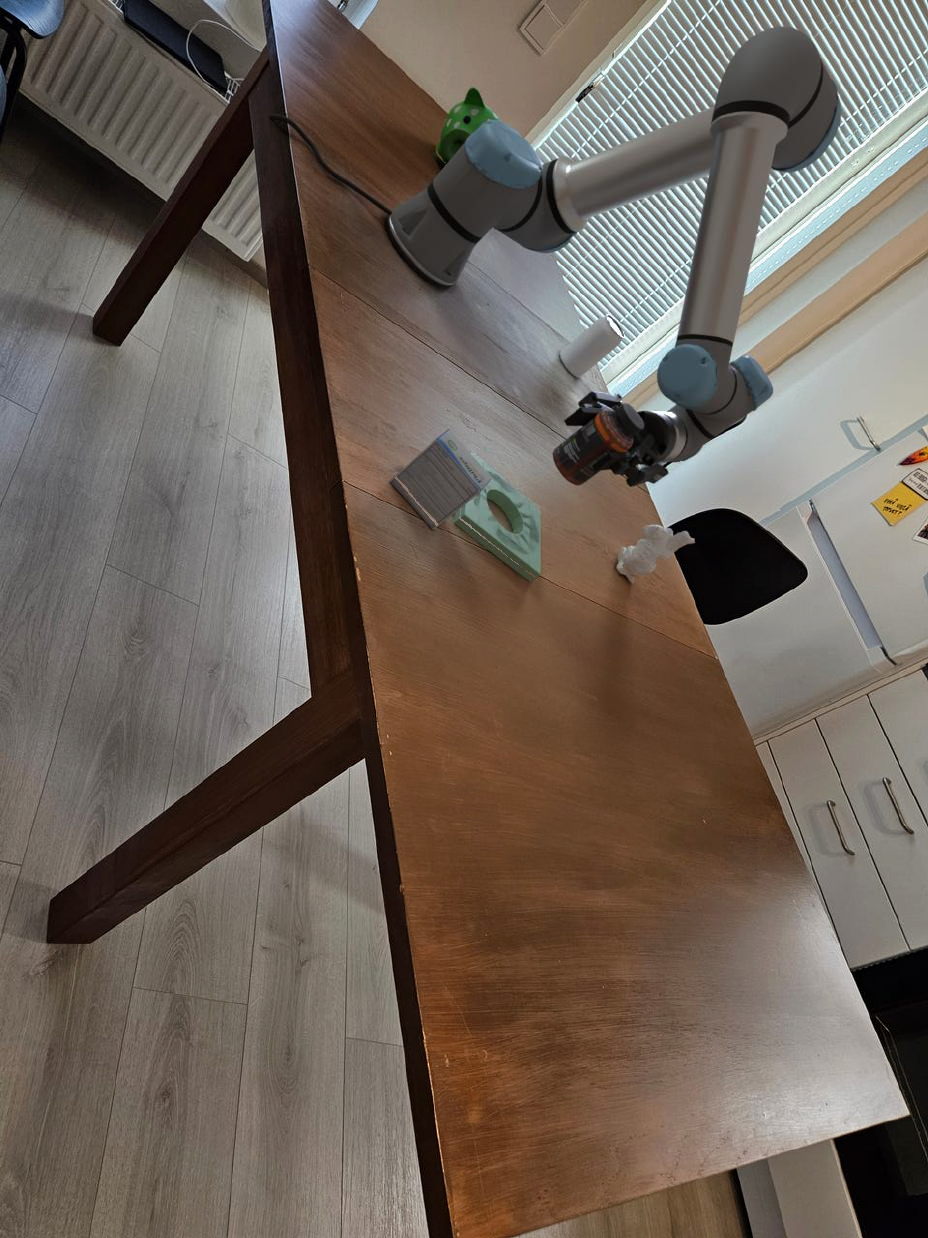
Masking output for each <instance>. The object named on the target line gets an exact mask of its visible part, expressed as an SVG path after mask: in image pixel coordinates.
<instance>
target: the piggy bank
mask: <svg viewBox="0 0 928 1238" xmlns="http://www.w3.org/2000/svg"><path fill="white" fill-rule="evenodd" d="M464 97H465V98H464V100H463V101H460V102H458V103H456V104H455V105H454V106H452V108H451V109H450V110H449V111H448V114H447V116H446V118H445V120H444V122H443V126H442V129H441V132H440V139H439V143H438V144H437V146H436V147H437V151H438V153H439V155H440V156H441V157H442V159H443V161H444V162H446V163H448V162H449V161H450V159H451V158H452V157H453V156H454V155H455V153H456V152H457V151H458V150H459V149H460V147H461V146H462V145H463V144H464V143H465V141H466V140H467V138H468V137H469V136H470V135H471V134H472V133H474V132H475V131H476V130H477V129H478V128H479V127H480V126H481V125H482V124H483V123H484V122H486V121H488V120H498V121H501V120H500V118H499V116H498V115H497V114H496V112H495V111H493V110H492V109H491V108H490V107H489V106H487V105H486V104H485V103H484V100H483V97H482V95H481V92H480V90H479V89H478V88H477V87H475V86H471V87H470V88H469V89H468V90H467V92H466V95H465V96H464ZM433 157H434V158H435V160H436V161H437V162H438V163H439V164H440V165H446V163H444V162H443V161H442V160H441V159H440V158H439V157H438V156H437V154H436V152H435V151H434V154H433Z"/></svg>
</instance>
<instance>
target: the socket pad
mask: <svg viewBox="0 0 928 1238" xmlns="http://www.w3.org/2000/svg"><path fill="white" fill-rule="evenodd" d="M469 451H470V453H471V454H472V455H473V456H474V457H475V459H476V460H477V461H478V462H479V463H480V465H481V466H482V467H483V468H484V469H485V471H486V472H487V473H488V474H489V475H490V477H491V481H490V482H489V483H488V484H487V485H486V487H485V488H484V489H483V490H482V491H481V492H480V493H479V494H478V495H476V496H475V497H474V498H473V499H471V500H470V501H469V502H468V503H466V504H465V505H464V506H463V507H462V508H461V515H460V509H459V510H458V511H456V512H455V513H454V519H453V522H454V525H456V526H457V527H458V528H459V529H461V530H462V531H464V533H466V534H467V535H468V536H470V537H471V538H473V539H474V540H475V541H476V542H477V543H479V544H480V545H482V546H483V547H484V548H485V549H487V550H488V551H489V552H491V553H492V554H493V555H494V556H496V557H497V558H498V559H499V560H501V561H502V562H503V563H505V564H506V565H507V566H509V567H510V568H511V569H513V571H515V572H516V573H517V574H519V575H520V576H522V577H523V578H524V579H526V580H527V581H528V582H530V583H531V582H532V581H534V580H535V579H536V578H534V577H533V576H532V575H530V574H529V573H528V572H526V571H525V570H524V569H523V568H525V569H526V570H527V571H529V572H530V573H531V574H533V575H534V576H535V577H537V578H539V577H540V576H541V575H542V555H541V554H542V545H541V544H542V543H541V542H542V541H541V539H542V538H541V537H542V535H541V534H542V533H541V532H542V531H541V529H542V527H541V525H542V524H541V508H540V507H538V506H537V505H536V504H535V503H534V502H532V501H531V500H530V498H528V497H527V496H525V494H523V493H522V492H521V491H519V489H517V488H516V487H515V486H514V485H513V484H511V483H510V482H509V481H508V480H506V479H505V478H504V477H503V476H502V475H501V474H500V473H498V472H497V471H496V470H495V469H493V467H491V466H490V465H489V464H488V463H487V462H485V461H484V460H483V459H482V458H480V457H479V456H478V455H477V454H476V453H475V452H474V451H472V450H469ZM488 500H489V501H492V502H493V503H494V504H496V505H497V506H498V507H499V508H500V509H501V510H502V511H503V512H504V514H505V516H506V518H507V519H508V520H509V522H510V525H511V528H512V531H509V530H507V529H506V528H505V527H504V526H503V525H501V524H500V523H499V522H498V520H497V519H496V518H495V516H494V514H493V512H492V510H491V509H490V506H489V504H488ZM459 516H461V519H463V520H464V521H465V522H467V523H468V524H470V525H471V526H472V528H474V529H475V530H476V531H478V532H479V533H480V534H481V535H482V536H484V537H485V538H486V539H487V540H488V541H490V542H491V543H492V544H493V545H495V546H496V547H497V548H499V549H500V550H502V552H503V553H505V554H506V555H507V556H508V557H507V556H506V555H505V554H503V553H502V552H501V551H500V550H498V549H497V548H496V547H495V546H493V545H492V544H491V543H489V542H488V541H487V540H486V539H484V538H483V537H482V536H480V535H479V534H478V533H477V532H475V531H474V530H473V529H471V528H470V527H469V526H468V525H466V524H465V523H464V522H463V521H461V520H460V519H459ZM510 558H511V559H512V560H513V561H512V560H511V559H510ZM514 561H515V562H516V563H518V564H519V565H520V566H522V567H523V568H521V567H520V566H519V565H518V564H516V563H515V562H514Z"/></svg>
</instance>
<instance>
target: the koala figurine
mask: <svg viewBox="0 0 928 1238" xmlns="http://www.w3.org/2000/svg"><path fill="white" fill-rule="evenodd" d="M642 531H643V537H644V538H640V539H639V540H637V542H636V545H634V546H633V545H629V546H627V547H626V546H622V547H621V548H620V551H619V554H618V556H617V564H616V571H617V572H618V573H619V574H621V575H624V576H625V577H626V578H627V580H628V581H629V582H630V583H631V584H634V583H635V580H634V579H633V578H632V576H631V574H633V575H635V576H641V575H642V576H643V575H649V574H651V573H653V572H654V571H655V570H656V568H657V564H656V560H657V559H658V560H660V561H665V560H667V559H669V558H671V556H672V555H673V554H674V553H675V552H677V551H678V550H679V549H680V548H682V547H684V546H686V545H692V544H695V543H696V542H695V538H692V537H691V536H690V534H689V532H688V531H687V530H683V531H681V532H677V533H676V534H674V531H673V530H672V528H670V527H663V526H662V525H659V524H650V525H649V524H648V525H644V526H643V528H642ZM623 564H624V567H625V568H626V569H627V570H628V571H629V572H630V573H631V574H630V573H629V572H628V571H626V570H624V569H623V566H622V565H623Z"/></svg>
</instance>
